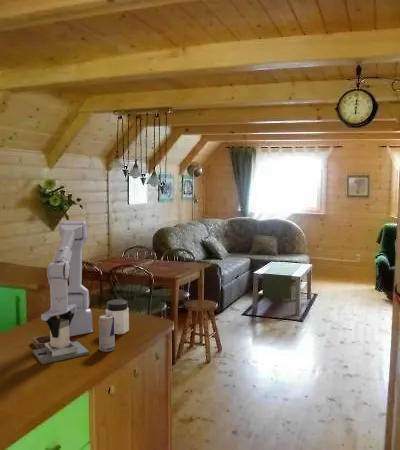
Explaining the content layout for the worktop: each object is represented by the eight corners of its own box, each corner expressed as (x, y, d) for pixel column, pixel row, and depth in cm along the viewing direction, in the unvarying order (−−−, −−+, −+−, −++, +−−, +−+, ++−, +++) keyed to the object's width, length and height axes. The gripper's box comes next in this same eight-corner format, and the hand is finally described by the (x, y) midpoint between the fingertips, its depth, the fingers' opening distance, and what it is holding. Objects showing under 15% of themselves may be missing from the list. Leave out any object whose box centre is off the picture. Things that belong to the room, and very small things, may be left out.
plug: (59, 342, 164) (58, 317, 164) (69, 345, 162) (68, 319, 161) (50, 346, 161) (49, 320, 160) (61, 348, 159) (60, 322, 158)
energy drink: (117, 347, 167) (116, 315, 166) (109, 352, 162) (109, 319, 161) (104, 345, 169) (103, 313, 168) (96, 350, 164) (95, 317, 163)
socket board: (77, 343, 171) (77, 336, 171) (89, 354, 161) (88, 345, 161) (32, 352, 162) (32, 344, 162) (42, 364, 152) (41, 355, 152)
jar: (106, 335, 180) (105, 305, 179) (105, 329, 188) (105, 299, 187) (129, 333, 182) (129, 303, 181) (128, 327, 190) (127, 298, 189)
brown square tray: (52, 339, 176) (51, 334, 176) (58, 345, 169) (58, 340, 169) (32, 343, 172) (32, 337, 172) (38, 349, 165) (38, 344, 165)
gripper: (65, 291, 168) (67, 327, 169) (34, 300, 155) (35, 339, 157) (80, 293, 165) (81, 330, 166) (49, 302, 152) (50, 343, 153)
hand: (60, 335), depth 161 cm, fingers closed on plug, 4 cm apart
